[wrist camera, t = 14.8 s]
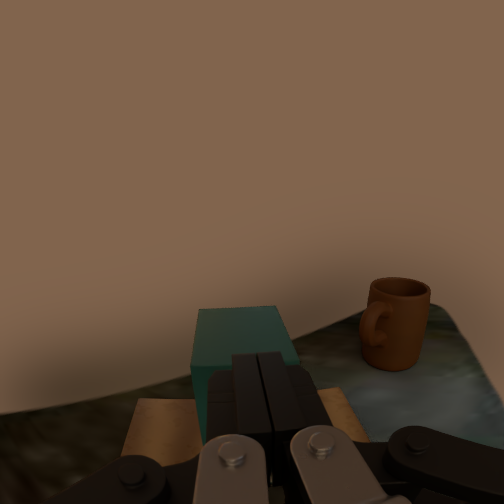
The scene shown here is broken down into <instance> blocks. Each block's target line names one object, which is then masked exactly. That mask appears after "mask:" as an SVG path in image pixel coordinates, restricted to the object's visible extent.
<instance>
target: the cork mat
mask: <svg viewBox="0 0 504 504" xmlns="http://www.w3.org/2000/svg"><path fill="white" fill-rule="evenodd" d="M317 392H318V394H319V396H320V398H321V400H322V402H323V404H324V407H325V409H326V411H327V413H328V415H329V417H330V420H331V422H332V424H333V426H334V427H336V428H338V429H340V430H342V431H344V432H345V433H346V434H347V435H348V436H349V437H350V438H351V440H353V441H358V442H370V440H369V438H368V437H367V435H366V433H365V431H364V430H363V428H362V426H361V424H360V422H359V421H358V419H357V417H356V415H355V414H354V412H353V410H352V408H351V407H350V405H349V403H348V401H347V399H346V398H345V396H344V394H343V392H342V391H341V389H340V387H335V388H329V389H322V390H317ZM202 447H203V444H202V439H201V433H200V427H199V422H198V415H197V409H196V403H195V399H148V398H139V400H138V403H137V406H136V409H135V412H134V415H133V418H132V421H131V424H130V427H129V431H128V434H127V437H126V440H125V443H124V447H123V450H122V453H121V457H122V456H126V455H143V456H147V457H149V458H152V459H154V460H155V461H157V462H158V463H159V464H160V465H161V466H162V467H163V466H168V465H173V464H178V463H182V462H185V461H187V460H190V459H192V458H193V457H195V456H196V455H197V454H199V453H200V451H201V449H202Z"/></svg>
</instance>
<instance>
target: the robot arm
mask: <svg viewBox="0 0 504 504" xmlns="http://www.w3.org/2000/svg"><path fill="white" fill-rule="evenodd" d="M231 355H232V370H215V371H214V373H213V374H212V375H211V377H210V378H209V379H208V391H207V392H208V394H207V423H206V443H205V445H204V446H203V447H202V449H201V451H200V453H199V454H197V455H196V456H195V457H193V458H192V459H190V460H187V461H185V462H182V463H178V464H173V465H168V466H163V467H162V466H161V465H160V464H159V463H158V462H157V461H155V460H154V459H152V458H149V457H147V456H143V455H126V456H122V457H119V458H116V459H115V460H113V461H111V462H110V463H108V464H106V465H105V466H103V467H101V468H100V469H98V470H97V471H95V472H93V473H92V474H90V475H88V476H87V477H85V478H83V479H82V480H80V481H78V482H76V483H75V484H73V485H71V486H69V487H68V488H66V489H64V490H62V491H61V492H59V493H57V494H55V495H53V496H51V497H50V498H48V499H46V500H44V501H42V502H40V503H38V504H269V500H268V487H270V483H271V480H272V485H273V486H282V485H283V489H284V494H285V502H284V504H504V450H501V449H497V448H493V447H490V446H486V445H482V444H478V443H475V442H471V441H468V440H464V439H461V438H458V437H454V436H451V435H448V434H445V433H442V432H439V431H435V430H432V429H429V428H426V427H422V426H407V427H404V428H401V429H399V430H397V431H396V432H394V433H393V434H392V435H391V437H390V439H389V441H388V442H358V441H353V440H351V438H350V437H349V436H348V435H347V434H346V433H345V432H344V431H342V430H340V429H338V428H336V427H334V426H333V424H332V422H331V420H330V417H329V415H328V413H327V411H326V409H325V407H324V404H323V402H322V400H321V398H320V396H319V394H318V392H317V389H316V387H315V385H314V384H313V381H312V379H311V377H310V374H309V372H307V371H306V370H305V369H303V368H302V367H301V366H299V365H298V364H296V365H285V363H284V360H283V357H282V354H281V352H280V351H269V352H257V353H256V355H255V353H240V354H231ZM424 488H425V489H424ZM427 489H428V490H427ZM430 490H431V491H430ZM433 491H434V492H433ZM436 492H437V493H436ZM439 493H440V494H439ZM442 494H443V495H442ZM445 495H446V496H445ZM448 496H449V497H448ZM451 497H452V498H451ZM454 498H456V499H454Z"/></svg>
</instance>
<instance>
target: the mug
mask: <svg viewBox="0 0 504 504" xmlns="http://www.w3.org/2000/svg"><path fill="white" fill-rule="evenodd" d="M430 295H431V290H430V288H429V286H427V285H426V284H424V283H422V282H419V281H416V280H413V279H407V278H397V277H388V278H381V279H377V280H374V281H373V282H372V283H371V285H370V291H369V297H368V303H367V308H366V310H365V311H364V313H363V315H362V317H361V320H360V325H359V337H360V340H361V342H362V343H363V345H362V355H363V357H364V359H365V360H366V362H367V363H369V364H370V365H372V366H373V367H375V368H378V369H381V370H385V371H401V370H405V369H408V368H410V367H412V366H413V365H414V364H415V363H416V362H417V360H418V358H419V355H420V351H421V346H422V342H423V338H424V333H425V329H426V323H427V318H428V313H429V306H430Z"/></svg>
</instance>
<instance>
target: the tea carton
mask: <svg viewBox="0 0 504 504" xmlns="http://www.w3.org/2000/svg"><path fill="white" fill-rule="evenodd" d="M269 351H280V352H281V354H282V357H283V360H284V363H285V365H296V364H298V365H299V361H300V360H299V357H298V355H297V353H296V350H295V348H294V346H293V344H292V341H291V339H290V337H289V335H288V332H287V330H286V328H285V326H284V323H283V321H282V319H281V317H280V314H279V312H278V310H277V308H276V306H260V307H240V308H220V309H219V308H218V309H199V313H198V319H197V325H196V331H195V338H194V344H193V351H192V357H191V364H190V368H191V375H192V383H193V390H194V396H195V403H196V409H197V415H198V422H199V427H200V433H201V439H202V444H203V446H204V445H205V443H206V423H207V394H208V392H207V391H208V379H209V378H210V377H211V375H212V374H213V373H214V371H215V370H232V355H231V354H240V353H255V355H256V353H257V352H269ZM270 484H272V480H271V483H270Z"/></svg>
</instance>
